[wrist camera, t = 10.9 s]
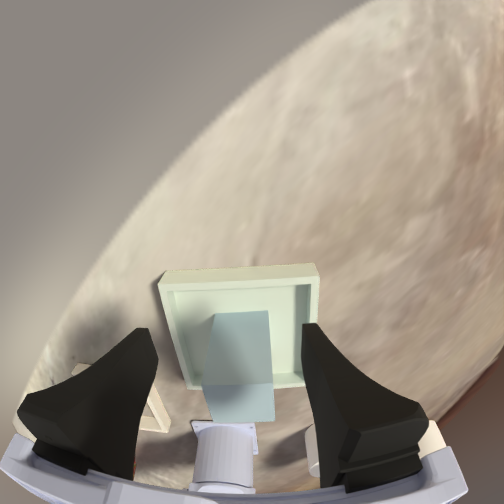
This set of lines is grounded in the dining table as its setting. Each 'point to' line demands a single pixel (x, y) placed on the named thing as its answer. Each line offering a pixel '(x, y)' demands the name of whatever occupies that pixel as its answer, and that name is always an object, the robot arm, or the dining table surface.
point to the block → (239, 368)
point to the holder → (161, 417)
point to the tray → (241, 300)
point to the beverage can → (431, 440)
